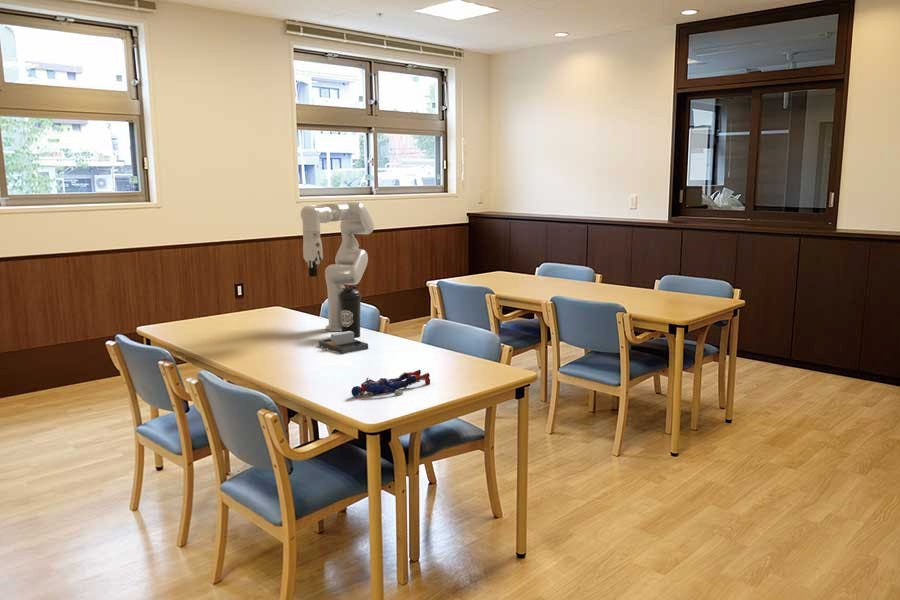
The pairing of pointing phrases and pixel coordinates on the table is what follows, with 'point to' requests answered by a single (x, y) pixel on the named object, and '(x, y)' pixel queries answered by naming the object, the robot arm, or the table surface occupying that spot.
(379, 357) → the table surface
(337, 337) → the rectangular block
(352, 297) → the water bottle
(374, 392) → the figurine
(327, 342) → the rack
